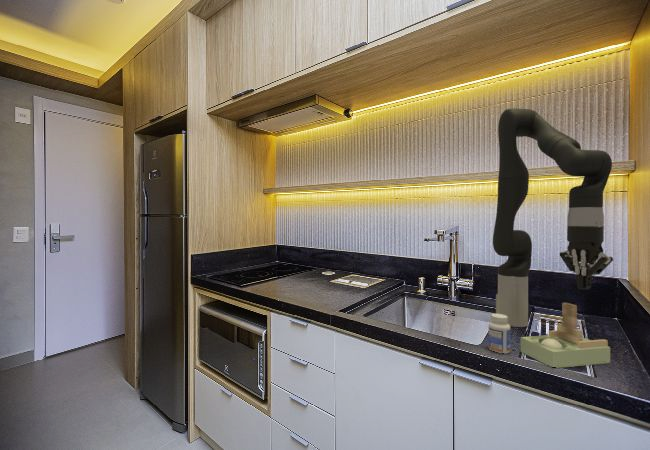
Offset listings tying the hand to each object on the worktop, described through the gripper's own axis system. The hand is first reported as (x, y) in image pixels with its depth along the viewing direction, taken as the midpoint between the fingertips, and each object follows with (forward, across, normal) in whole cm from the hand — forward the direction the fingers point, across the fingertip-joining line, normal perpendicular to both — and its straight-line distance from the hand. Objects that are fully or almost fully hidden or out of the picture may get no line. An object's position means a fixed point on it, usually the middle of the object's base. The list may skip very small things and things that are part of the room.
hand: (583, 289), depth 83 cm
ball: (+15, 0, -10) cm, 18 cm away
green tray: (+18, 0, -6) cm, 19 cm away
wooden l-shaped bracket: (+14, 0, -5) cm, 14 cm away
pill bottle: (+18, -7, -20) cm, 28 cm away
